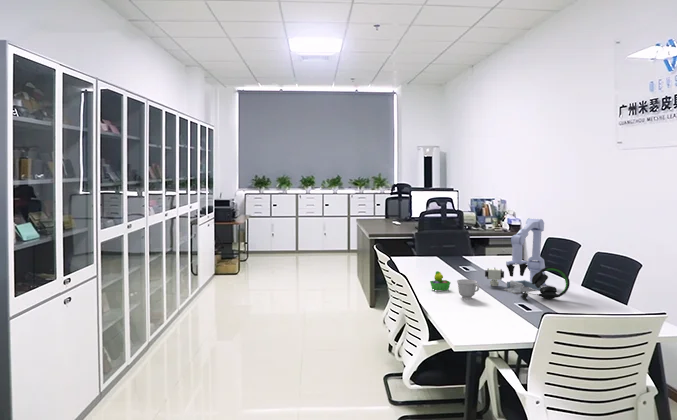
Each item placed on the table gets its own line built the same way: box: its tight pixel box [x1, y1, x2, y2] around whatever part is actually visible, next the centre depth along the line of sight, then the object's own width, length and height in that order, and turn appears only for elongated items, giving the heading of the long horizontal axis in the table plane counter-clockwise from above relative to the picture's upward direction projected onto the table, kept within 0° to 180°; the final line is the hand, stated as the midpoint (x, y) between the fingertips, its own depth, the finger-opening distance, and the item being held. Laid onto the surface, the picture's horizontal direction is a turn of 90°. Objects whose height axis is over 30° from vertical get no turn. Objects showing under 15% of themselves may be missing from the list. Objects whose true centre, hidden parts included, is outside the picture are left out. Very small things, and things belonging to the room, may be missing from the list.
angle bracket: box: [503, 280, 524, 295], centre depth 301 cm, size 10×6×6 cm, turn 19°
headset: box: [520, 266, 570, 301], centre depth 283 cm, size 18×14×29 cm
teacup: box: [456, 278, 480, 300], centre depth 285 cm, size 12×15×10 cm
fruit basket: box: [429, 270, 451, 291], centre depth 308 cm, size 11×9×11 cm
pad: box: [523, 286, 538, 293], centre depth 307 cm, size 11×12×1 cm
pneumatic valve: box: [484, 267, 505, 287], centre depth 318 cm, size 6×12×12 cm, turn 72°
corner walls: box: [506, 279, 542, 292], centre depth 309 cm, size 14×15×4 cm
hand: (516, 276), depth 302 cm, fingers open, 7 cm apart
